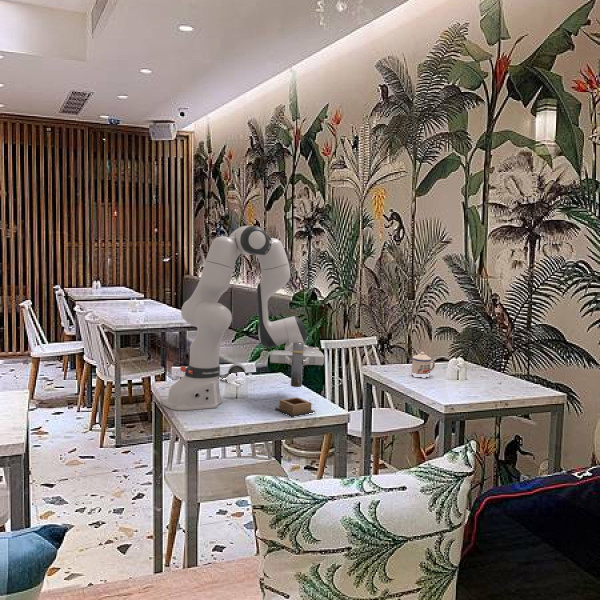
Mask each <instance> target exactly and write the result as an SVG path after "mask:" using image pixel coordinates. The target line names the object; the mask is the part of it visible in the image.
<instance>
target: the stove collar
mask: <svg viewBox="0 0 600 600" xmlns="http://www.w3.org/2000/svg"><path fill="white" fill-rule="evenodd" d="M275 411H276V412H278V411H279V412H278V413H281V414H283V413H284V414H283V415H285V414H287V415H289V416H291V417H290V418H292V417H293V418H295V417H294V416H298V417H300V416H299V415H304V416H306V415H305V414H309V413H313V412H315V413H316V411H315V410H314V409H312V402H310V401H307V400H305V399H303V398H300V397H292V398H283V399H279V405H278V406H276V407H275ZM287 415H286V416H287ZM289 416H288V417H289Z"/></svg>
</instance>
